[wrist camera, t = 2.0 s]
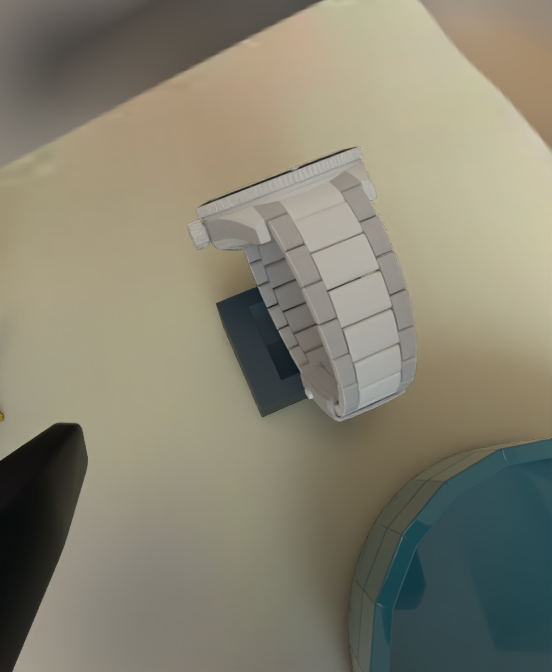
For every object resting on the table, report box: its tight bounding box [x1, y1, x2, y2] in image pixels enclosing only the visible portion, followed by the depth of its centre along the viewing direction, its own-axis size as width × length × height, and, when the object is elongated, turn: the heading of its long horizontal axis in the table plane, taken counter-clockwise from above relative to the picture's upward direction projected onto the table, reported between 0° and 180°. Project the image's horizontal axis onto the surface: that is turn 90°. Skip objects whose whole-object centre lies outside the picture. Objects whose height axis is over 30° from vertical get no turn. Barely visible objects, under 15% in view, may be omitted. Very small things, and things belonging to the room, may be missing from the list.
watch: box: [187, 147, 417, 422], centre depth 17 cm, size 6×8×11 cm
